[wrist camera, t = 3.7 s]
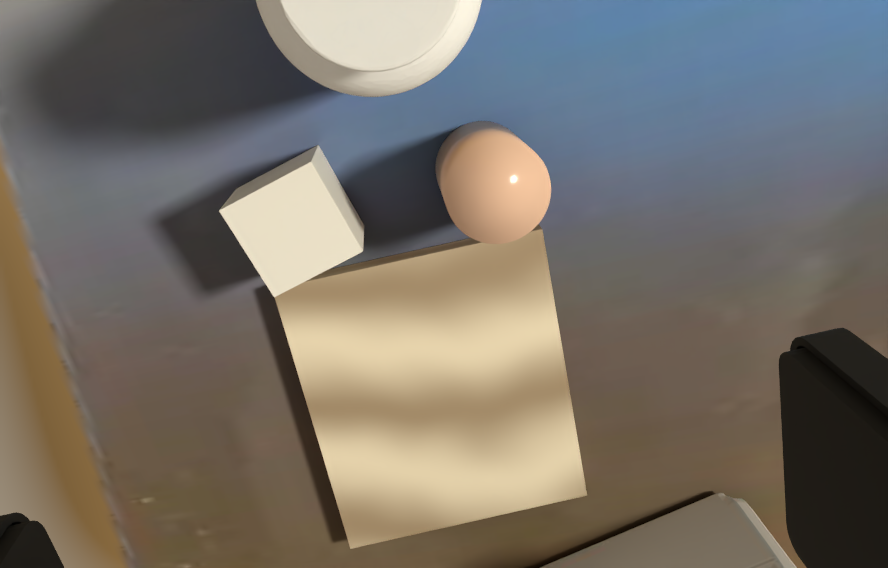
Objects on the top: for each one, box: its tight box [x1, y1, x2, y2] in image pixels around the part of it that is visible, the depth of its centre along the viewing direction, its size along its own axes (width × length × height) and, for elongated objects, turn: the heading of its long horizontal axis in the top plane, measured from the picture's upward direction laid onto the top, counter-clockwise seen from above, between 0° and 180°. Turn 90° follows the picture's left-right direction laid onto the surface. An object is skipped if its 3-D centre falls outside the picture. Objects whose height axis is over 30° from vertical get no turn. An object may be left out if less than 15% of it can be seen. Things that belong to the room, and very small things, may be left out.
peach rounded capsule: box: [436, 121, 551, 244], centre depth 31 cm, size 4×4×5 cm
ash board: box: [275, 224, 587, 549], centre depth 36 cm, size 14×12×1 cm
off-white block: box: [219, 145, 364, 297], centre depth 32 cm, size 4×4×4 cm
